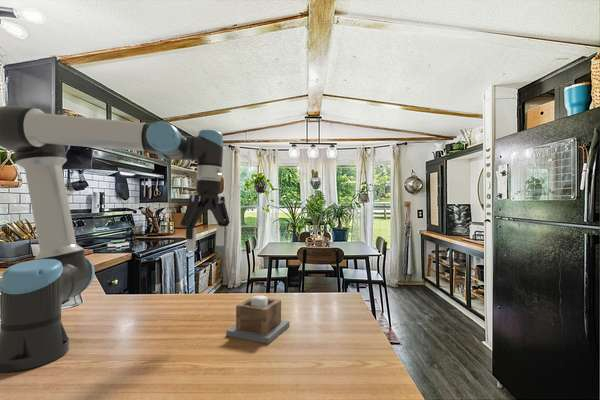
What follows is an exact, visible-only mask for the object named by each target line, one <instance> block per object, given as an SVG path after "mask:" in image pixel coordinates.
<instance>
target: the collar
mask: <svg viewBox="0 0 600 400" xmlns="http://www.w3.org/2000/svg"><path fill="white" fill-rule="evenodd" d="M251 298H252V297H250V298H248V299H246V300H244V301H242V302H240V303H238V304H236V307H235V308H236V309H235V311H236V312H235V325H236V329H238V330H243V331H249V332H254V333H260V334H265V335H266V334H267V333H268V332H270V331H271V330H272V329H274V328H275V327H276V326H277V325H279V324H280V323H281V320H282V299H273V298H268V305H267V306H266V307H264V308H262V307H256V306H251Z"/></svg>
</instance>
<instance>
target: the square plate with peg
mask: <svg viewBox="0 0 600 400" xmlns="http://www.w3.org/2000/svg"><path fill="white" fill-rule="evenodd" d="M250 298H251V306H256V307H262V308H264V307H266V306H267V305H268V299H269V298H268V296H266V295H253V296H252V297H250ZM289 327H290V321H289V320H284V319H283V320H282V319H281V323H280V324H279V325H277V326H276V327H275V328H274V329H272V330H271V331H270V332H268V333H267V334H266V335H265V334H260V333H254V332H249V331H243V330H238V329H236V324H235V325H233V326H232V327H230V328H229V329H226V332H225V333H226V336H227V337H232V338H237V339H241V340H245V341H251V342H252V341H253V342H256V343H257V342H258V343H261V344H266V345H269V344H270V343H272V342H273V341H274V340H275V339H277V337H278V336H280V335H281V334H282V333H283V332H285V330H287V329H288V328H289Z"/></svg>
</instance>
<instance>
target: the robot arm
mask: <svg viewBox="0 0 600 400" xmlns="http://www.w3.org/2000/svg"><path fill="white" fill-rule="evenodd" d="M71 146H75V147H84V148H85V147H87V148H98V149H99V148H100V149H113V150H124V151H138V152H147V153H148V152H149V153H156V156H157V157H158V158H159V159H161V160H162V159H163V160H169V161H172V160H175V161H179V160H180V161H192V162H196V161H197V163H196V164H197V166H196V179H197V181H196V185H195V191H196V193H198V194H190V195H189V202H188V204H187V206H186V209H185V211H184V214H183V216H182V219H181V221H180V226H181V227H183V229H185V239H186V249H185V250H186V251H192V252H195V251H196V248H197V247H196V245H197V242H196V241H197V228H195V227H196V225H197V223H198V222H199V220H200V219H201V217H202V215H203V214H204V212H205V211H211V213H212V215H213V217H214V219H215V221H216V223H217V224H218V225H216V227H215V229H216V233H215V246H216V247H224V245H225V235H226V227H228V226H229V224H230V223H231V221H230V217H229V214H228V213H229V212H228V211H227V207H226V201H225V199H226V198H225V196H219V194H220V193H222V182H221V180H222V171H223V155H224V153H223V152H224V136H223V134H222V132H220V131H218V130H213V129H201V130H199V131H198V135H197V136H190V135H182V133H181V132H180V131H179V129H177V127H175V126H174V125H172V124H171V123H169V122H167V121H161V120H160V121H159V120H158V121H154V122H153V123H147V122H139V121H138V122H137V121H126V120H117V119H116V120H115V119H107V118H106V119H105V118H96V117H86V116H75V115H66V114H56V113H55V114H53V113H45V112H44V111H43V110H41V109H39V108H36V107H35V108H34V107H24V106H19V105H2V106H0V147H1V148H2V149H6V150H8V151H13V153H14V157H15V163H16V164H17V165H18V166H20V167H21V168H22V169H24V173H25V177H26V185H27V190H28V194H29V199H30V203H31V204H30V205H31V210H32V216H33V220H34V225H35V230H36V235H37V242H38V246H39V247H38V248H39V252H38V253H37V255H36V256H35V257H34V259H32V260H28V261H22V262H19V263H15V264H13V265H11V266H8V267H7V268H6V269H4V271H3V272H2V274H1V282H0V373H9V372H10V373H13V372H19V371H26V370H29V369H33V368H36V367H40V366H43V365H47V364H49V363H52V362H54V361H56V360H58V359H60V358H62V357H63V356H65V354H67V353H68V351H69V349H70V340H69V338H68V337H69V336H68V334H67V332H66V329H65V327H64V325H63V322H62V303H63V302H65V301H67V300H69V299H71V298H73V297H76V296H78V295H80V294H82V293H83V292H84V291H85V290H87V289H88V287H90V285H91V284H92V282H93V281H94V279H95V278H94V277H95V276H96V275H95V274H96V273H95V272H96V271H95V266H94V264H93V262H92V261H91V260H90V259H88V258H87V257H86V255H85V254H86V253H85V249H84V247H82V246H80V245H78V244H77V241H76V235H75V230H74V229H75V228H74V224H73V219H72V214H71V209H70V205H69V204H70V203H69V197H68V193H67V187H66V183H65V182H66V181H65V177H64V172H63V166H64V164H66V162H67V161H68V159H67V153H68V151H69V150H70V148H71Z"/></svg>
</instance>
